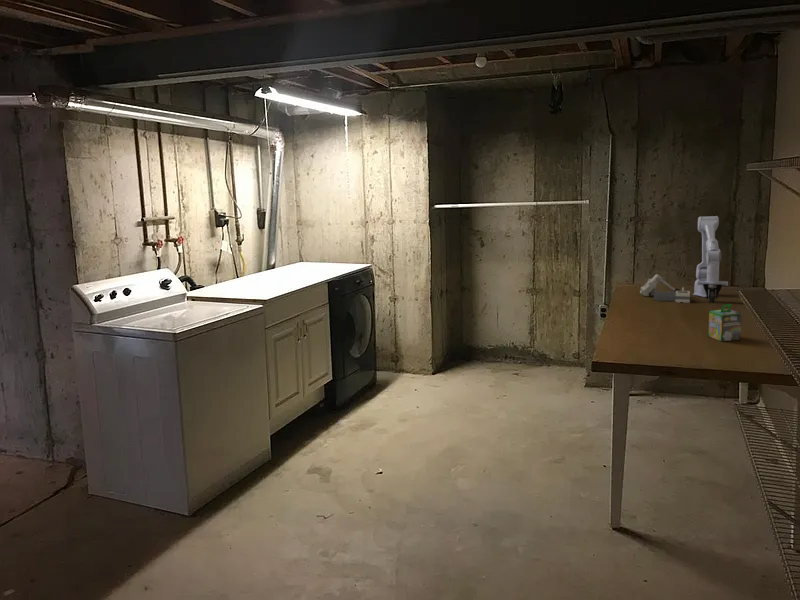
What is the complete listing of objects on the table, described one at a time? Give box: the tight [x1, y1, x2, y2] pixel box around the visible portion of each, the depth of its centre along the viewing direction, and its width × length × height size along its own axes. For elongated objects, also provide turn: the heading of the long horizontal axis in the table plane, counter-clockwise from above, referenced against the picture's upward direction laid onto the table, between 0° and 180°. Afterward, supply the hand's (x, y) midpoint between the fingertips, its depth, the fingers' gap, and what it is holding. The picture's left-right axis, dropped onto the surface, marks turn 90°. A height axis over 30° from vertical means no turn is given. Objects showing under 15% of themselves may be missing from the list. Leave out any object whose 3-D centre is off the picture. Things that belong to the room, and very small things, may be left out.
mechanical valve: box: [639, 273, 681, 297], centre depth 363 cm, size 10×18×15 cm
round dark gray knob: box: [708, 286, 716, 303], centre depth 339 cm, size 4×4×8 cm
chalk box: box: [708, 303, 743, 342], centre depth 267 cm, size 9×9×15 cm
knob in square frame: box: [653, 286, 691, 304], centre depth 352 cm, size 18×18×5 cm
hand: (711, 298), depth 339 cm, fingers closed on round dark gray knob, 3 cm apart
